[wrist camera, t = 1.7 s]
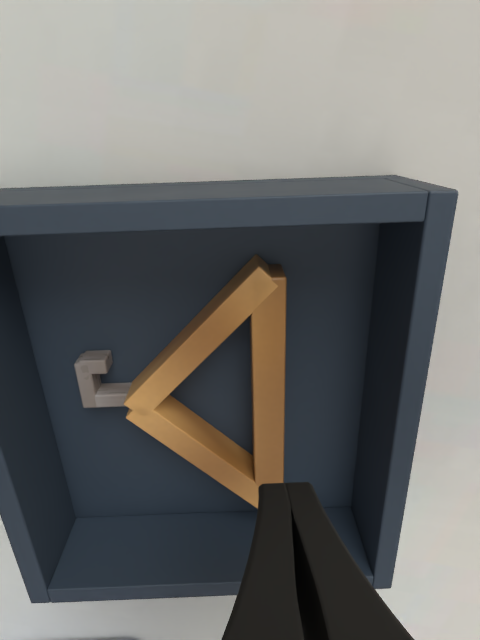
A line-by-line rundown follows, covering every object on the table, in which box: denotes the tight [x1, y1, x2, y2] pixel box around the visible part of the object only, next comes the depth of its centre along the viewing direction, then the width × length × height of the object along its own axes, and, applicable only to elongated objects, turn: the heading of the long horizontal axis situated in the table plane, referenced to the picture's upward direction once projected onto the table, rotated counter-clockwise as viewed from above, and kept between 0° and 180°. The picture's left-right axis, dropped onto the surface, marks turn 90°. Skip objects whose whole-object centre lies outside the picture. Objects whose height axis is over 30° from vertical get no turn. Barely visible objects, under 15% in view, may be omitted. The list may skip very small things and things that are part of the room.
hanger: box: [74, 254, 287, 509], centre depth 16 cm, size 8×11×2 cm
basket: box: [0, 175, 458, 603], centre depth 16 cm, size 15×16×4 cm
